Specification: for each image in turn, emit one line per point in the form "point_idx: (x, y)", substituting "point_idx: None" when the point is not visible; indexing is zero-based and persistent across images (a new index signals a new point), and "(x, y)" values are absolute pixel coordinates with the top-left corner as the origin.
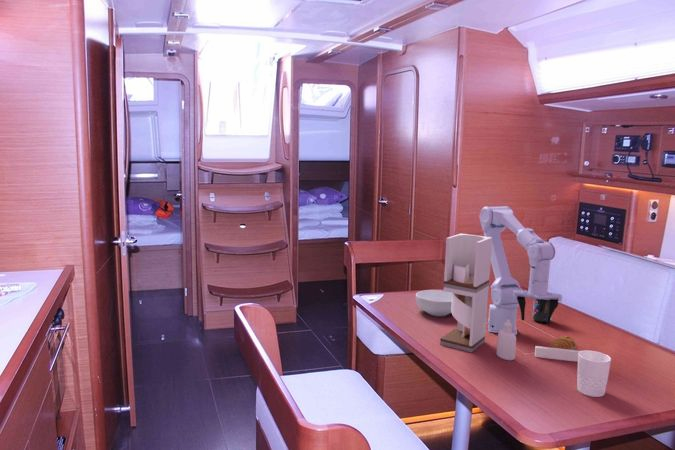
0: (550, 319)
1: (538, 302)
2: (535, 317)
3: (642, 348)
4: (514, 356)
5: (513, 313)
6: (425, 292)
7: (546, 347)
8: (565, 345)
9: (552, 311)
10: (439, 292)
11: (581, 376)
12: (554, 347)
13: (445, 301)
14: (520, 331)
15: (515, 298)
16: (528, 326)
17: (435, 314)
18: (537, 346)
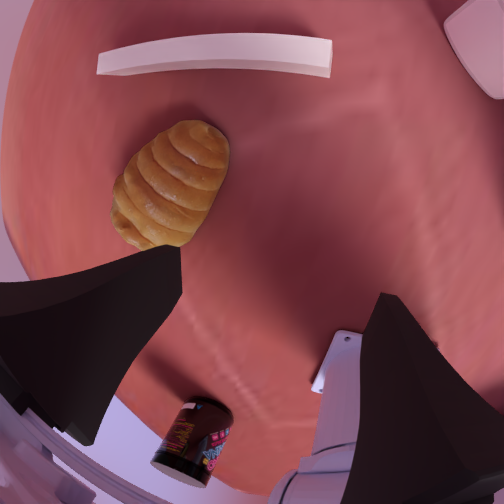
0: (185, 404)
1: (202, 458)
2: (225, 420)
3: (23, 232)
4: (449, 16)
5: (349, 421)
6: None
7: (261, 53)
8: (150, 149)
9: (70, 279)
10: None
11: None
12: (206, 134)
13: None
14: (305, 361)
15: (327, 498)
16: (259, 391)
17: None
18: (318, 58)
